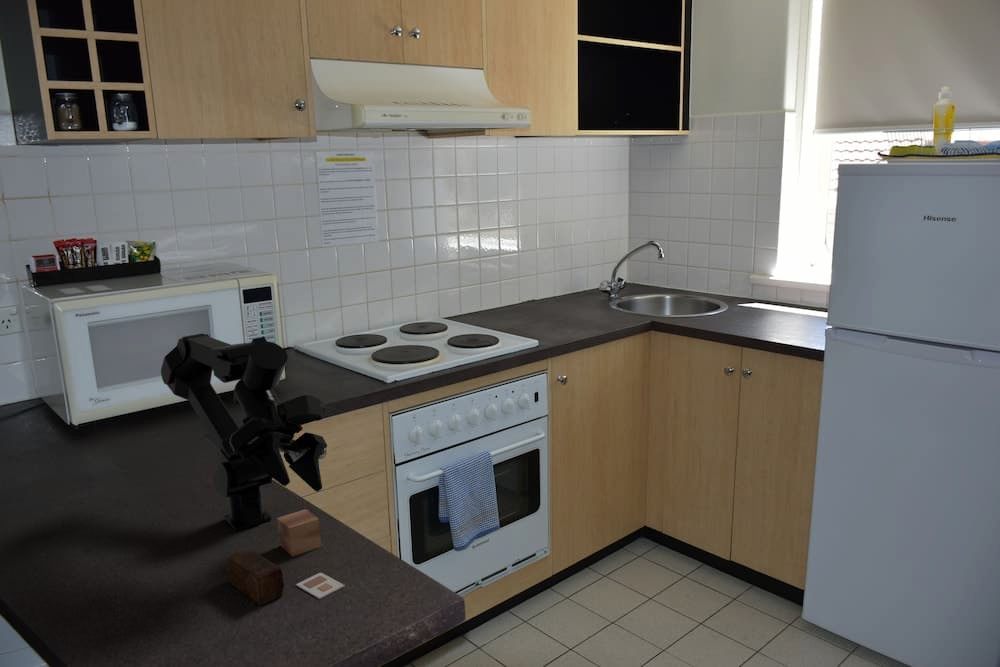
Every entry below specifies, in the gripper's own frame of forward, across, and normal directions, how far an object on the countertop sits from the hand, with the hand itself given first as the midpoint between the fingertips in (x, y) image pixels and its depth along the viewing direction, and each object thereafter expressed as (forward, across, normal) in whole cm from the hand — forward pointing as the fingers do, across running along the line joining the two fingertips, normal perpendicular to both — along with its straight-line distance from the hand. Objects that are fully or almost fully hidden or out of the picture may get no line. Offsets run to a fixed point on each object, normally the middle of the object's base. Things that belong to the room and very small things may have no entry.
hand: (303, 487), depth 117 cm
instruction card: (+14, +1, +5) cm, 15 cm away
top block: (+4, +10, +10) cm, 15 cm away
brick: (+9, -2, +13) cm, 16 cm away
